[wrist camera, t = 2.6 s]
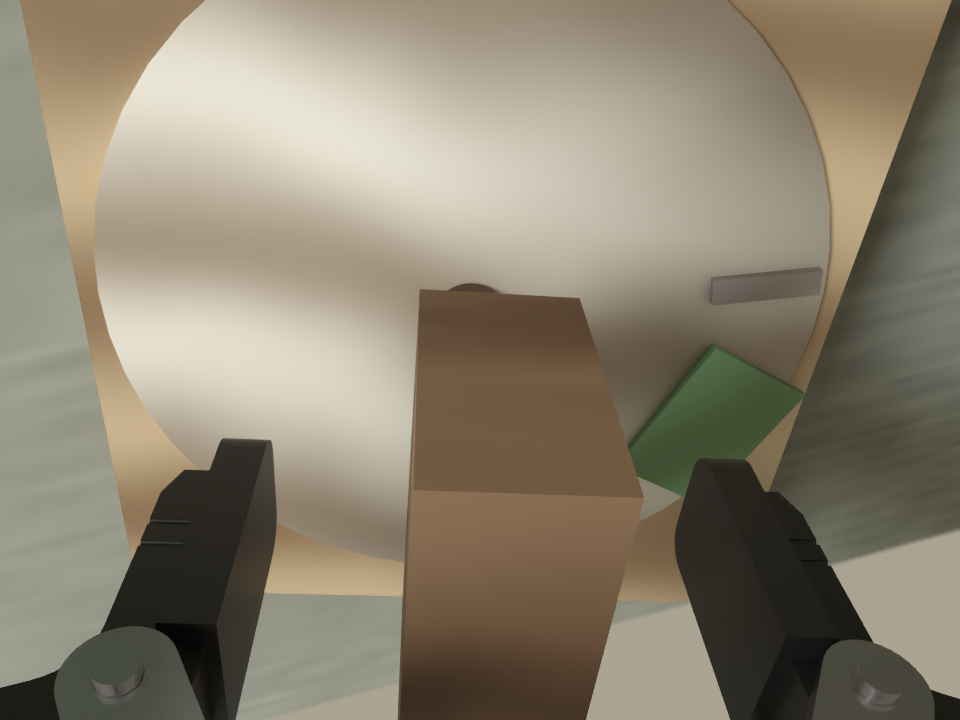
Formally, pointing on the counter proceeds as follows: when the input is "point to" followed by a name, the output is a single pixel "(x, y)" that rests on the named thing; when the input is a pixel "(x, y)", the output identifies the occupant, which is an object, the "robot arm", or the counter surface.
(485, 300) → the key
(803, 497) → the counter surface
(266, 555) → the robot arm
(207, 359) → the dial board
